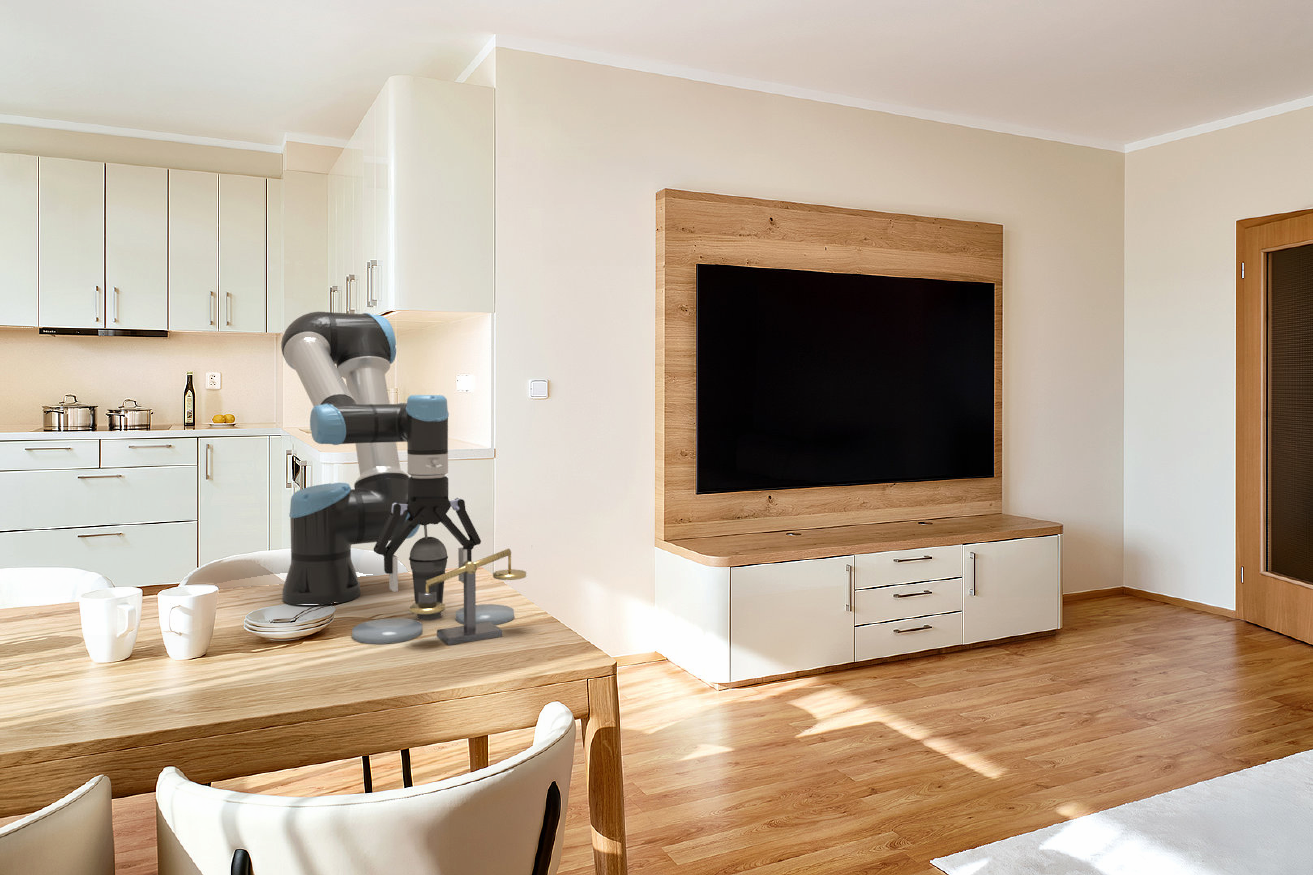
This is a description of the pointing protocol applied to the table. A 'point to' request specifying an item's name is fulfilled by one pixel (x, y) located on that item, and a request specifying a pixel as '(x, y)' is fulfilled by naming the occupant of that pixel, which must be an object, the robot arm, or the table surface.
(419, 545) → the beverage cup
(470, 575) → the balance
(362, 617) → the table surface
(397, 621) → the grey flat disc
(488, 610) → the dish light side
